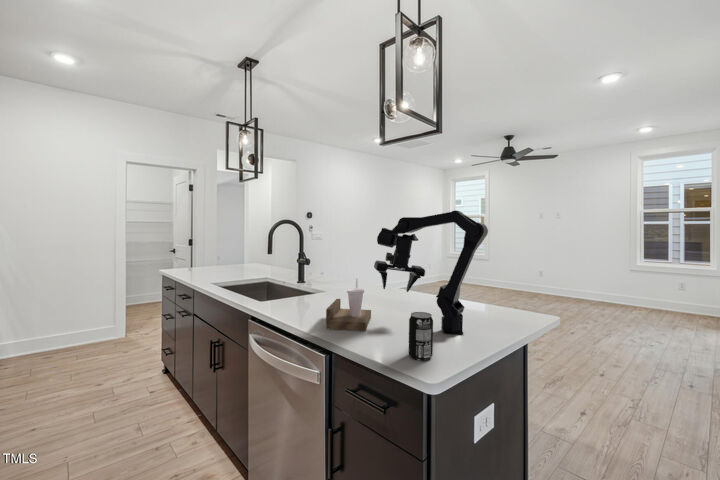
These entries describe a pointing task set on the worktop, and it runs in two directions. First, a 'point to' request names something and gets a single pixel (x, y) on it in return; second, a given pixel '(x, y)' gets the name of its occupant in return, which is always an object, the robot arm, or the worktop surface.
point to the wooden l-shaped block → (346, 318)
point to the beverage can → (420, 336)
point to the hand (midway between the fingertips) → (395, 290)
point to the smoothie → (355, 301)
